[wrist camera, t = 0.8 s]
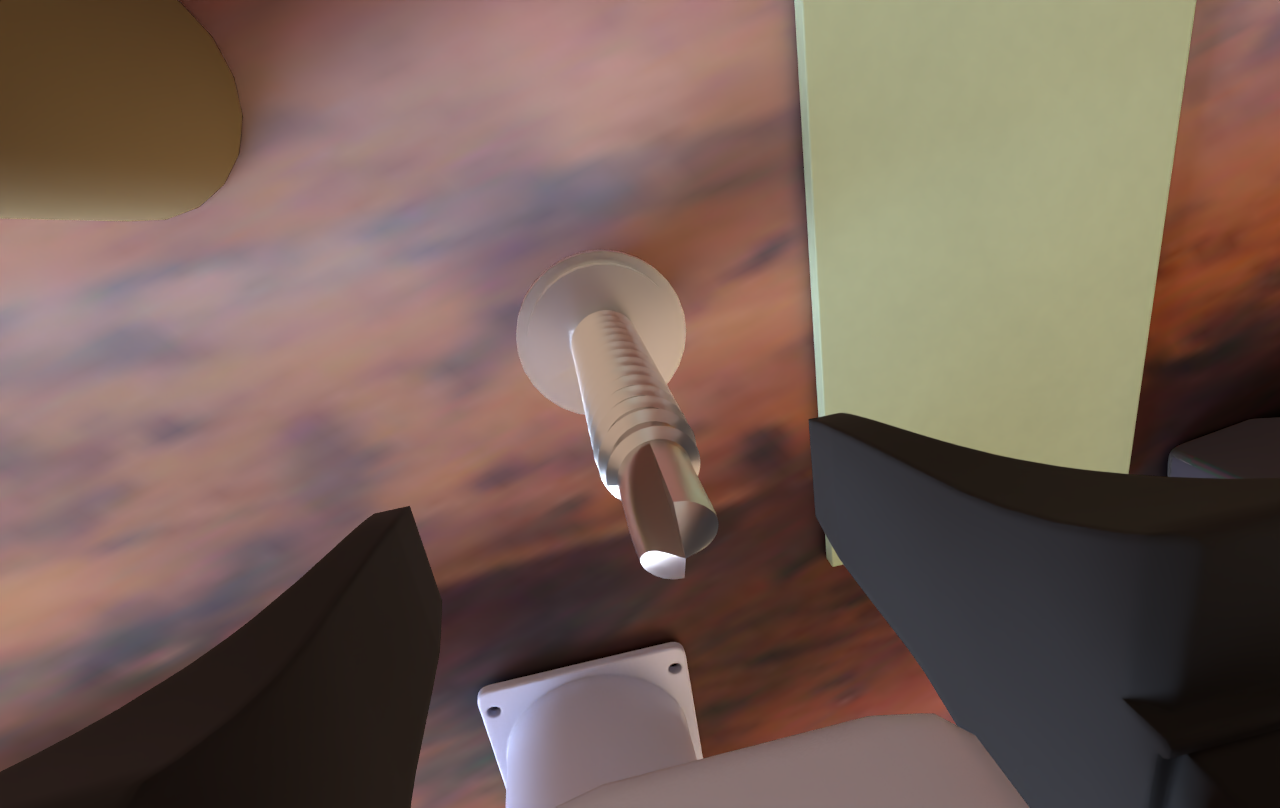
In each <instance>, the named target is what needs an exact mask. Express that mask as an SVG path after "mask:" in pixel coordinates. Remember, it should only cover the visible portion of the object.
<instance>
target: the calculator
mask: <svg viewBox="0 0 1280 808" xmlns="http://www.w3.org/2000/svg"><path fill="white" fill-rule="evenodd" d="M1167 477H1187V478H1218V479H1245V478H1280V417H1275V418H1257V419H1249V420H1246V421H1244V422H1241V423H1238V424H1235V425H1233V426H1230V427H1227V428H1224V429H1222V430H1219V431H1216V432H1213V433H1211V434H1208V435H1205V436H1202V437H1200V438H1197V439H1194V440H1191V441H1189V442H1186V443H1183V444H1181V445H1178V446H1176V447H1175V448H1174V449H1173V450H1172V451H1171V452H1170V454H1169V458H1168V472H1167Z"/></svg>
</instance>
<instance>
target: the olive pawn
mask: <svg viewBox="0 0 1280 808" xmlns="http://www.w3.org/2000/svg"><path fill="white" fill-rule="evenodd" d="M242 117H243V116H242V112H241V108H240V103H239V99H238V94H237V90H236V85H235V81H234V77H233V75H232V73H231V71H230V69H229V67H228V65H227V64H226V62H225V60H224V58H223V56H222V54H221V52H220V51H219V49H218V47H217V45H216V43H215V41H214V39H213V38H212V36H211V35H210V34H209V33H208V32H207V31H206V30H205V29H204V28H203V27H202V26H201V24H200V23H199V22H198V21H197V20H196V19H195V18H194V17H193V16H192V15H191V14H190V13H189V12H188V10H187V9H186V8H185V7H184V6H183V5H182V4H181V3H180V2H179V1H177V0H0V218H1V219H48V220H95V221H146V220H167V219H169V218H172V217H174V216H177V215H180V214H182V213H185V212H188V211H190V210H193V209H195V208H198V207H200V206H201V205H202V204H203V203H204V202H205V201H206V200H207V199H209V198H210V197H211V196H212V195H213V194H214V193H215V192H216V191H217V190H219V189H220V188H221V187H222V186H223V185H224V184H225V181H226V179H227V177H228V175H229V173H230V171H231V169H232V167H233V165H234V163H235V161H236V159H237V157H238V155H239V149H240V138H241V128H242Z"/></svg>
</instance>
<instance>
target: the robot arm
mask: <svg viewBox="0 0 1280 808" xmlns="http://www.w3.org/2000/svg"><path fill="white" fill-rule="evenodd" d="M809 431H810V445H811V458H812V472H813V486H814V500H815V514H816V517H817V519H818V521H819V523H820V525H821V527H822V529H823V531H824V532H825V534H826V536H827V538H828V540H829V542H830V543H831V545H832V547H833V549H834V550H835V552H836V554H837V556H838V557H839V559H840V560H841V562H842V563H843V564H844V566H845V567H846V568H847V570H848V571H849V572H850V574H851V575H852V576H853V578H854V579H855V580H856V582H857V583H858V584H859V586H860V587H861V588H862V590H863V591H864V592H865V593H866V595H867V596H868V597H869V599H870V600H871V601H872V603H873V604H874V605H875V606H876V608H877V609H878V610H879V612H880V613H881V614H882V616H883V617H884V618H885V619H886V621H887V622H888V623H889V625H890V626H891V627H892V629H893V630H894V631H895V632H896V634H897V635H898V636H899V638H900V639H901V640H902V642H903V643H904V644H905V645H906V647H907V648H908V649H909V651H910V652H911V654H912V655H913V656H914V658H915V659H916V661H917V662H918V664H919V665H920V666H921V668H922V669H923V671H924V672H925V674H926V675H927V677H928V679H929V680H930V682H931V684H932V685H933V687H934V689H935V690H936V692H937V693H938V695H939V697H940V698H941V700H942V702H943V703H944V705H945V707H946V708H947V710H948V712H949V713H950V715H951V716H952V718H953V720H954V721H955V723H956V725H957V726H956V725H954V724H953V723H951V722H949V721H947V720H945V719H943V718H941V717H939V716H937V715H936V714H923V713H921V714H900V715H880V716H867V717H863V718H859V719H855V720H851V721H848V722H844V723H840V724H836V725H832V726H828V727H824V728H820V729H816V730H813V731H809V732H805V733H801V734H797V735H793V736H789V737H785V738H781V739H777V740H774V741H770V742H766V743H762V744H758V745H754V746H750V747H746V748H742V749H738V750H735V751H731V752H727V753H723V754H719V755H715V756H711V757H707V758H703V755H702V749H701V743H700V737H699V731H698V725H697V719H696V713H695V708H694V702H693V696H692V690H691V684H690V678H689V672H688V666H687V660H686V654H685V651H684V648H683V646H682V645H681V644H680V643H677V642H668V643H664V644H660V645H656V646H651V647H647V648H643V649H639V650H635V651H630V652H626V653H622V654H618V655H613V656H609V657H605V658H601V659H596V660H592V661H588V662H584V663H580V664H575V665H571V666H567V667H563V668H558V669H554V670H550V671H546V672H541V673H537V674H533V675H529V676H525V677H520V678H516V679H512V680H508V681H503V682H499V683H495V684H491V685H487V686H485V687H483V688H482V689H481V690H480V691H479V693H478V706H479V709H480V712H481V715H482V718H483V721H484V724H485V727H486V730H487V733H488V736H489V739H490V742H491V745H492V748H493V751H494V754H495V757H496V760H497V763H498V766H499V769H500V772H501V775H502V778H503V781H504V784H505V787H506V808H1280V478H1245V479H1218V478H1187V477H1163V476H1147V475H1132V474H1122V473H1112V472H1102V471H1092V470H1083V469H1076V468H1068V467H1061V466H1054V465H1049V464H1043V463H1037V462H1031V461H1026V460H1020V459H1014V458H1010V457H1005V456H1000V455H996V454H991V453H987V452H983V451H979V450H975V449H971V448H967V447H963V446H959V445H956V444H952V443H948V442H945V441H941V440H938V439H934V438H931V437H927V436H924V435H921V434H917V433H914V432H911V431H908V430H904V429H901V428H898V427H895V426H891V425H888V424H885V423H882V422H878V421H875V420H872V419H868V418H865V417H861V416H857V415H853V414H848V413H836V414H831V415H827V416H822V417H818V418H813V419H809ZM441 618H442V600H441V597H440V594H439V591H438V588H437V585H436V582H435V579H434V576H433V573H432V570H431V567H430V564H429V561H428V558H427V555H426V553H425V550H424V547H423V544H422V541H421V538H420V535H419V532H418V529H417V526H416V523H415V520H414V517H413V514H412V511H411V508H410V506H408V507H403V508H398V509H394V510H389V511H385V512H380V513H375V514H373V515H372V516H370V517H369V518H368V519H366V520H365V521H364V522H362V523H361V524H360V525H359V526H358V527H357V528H355V529H354V530H353V531H352V532H351V533H350V534H349V535H348V536H347V537H345V538H344V539H343V540H342V541H341V542H340V543H339V544H338V545H337V546H336V547H335V548H333V549H332V550H331V551H330V552H329V553H328V554H327V555H326V556H325V557H324V558H322V559H321V560H320V561H319V562H318V563H317V564H316V565H315V566H314V567H313V568H312V569H310V570H309V571H308V572H307V573H306V574H305V575H304V576H303V577H302V578H300V579H299V580H298V581H297V582H296V583H295V584H293V585H292V586H291V587H290V588H289V589H287V590H286V591H285V592H284V593H283V594H282V595H280V596H279V597H278V598H277V599H276V600H274V601H273V602H272V603H271V604H270V605H268V606H267V607H266V608H265V609H264V610H263V611H261V612H260V613H259V614H258V615H257V616H255V617H254V618H253V619H252V620H250V621H249V622H248V623H247V624H245V625H244V626H243V627H241V628H240V629H239V630H237V631H236V632H235V633H233V634H232V635H231V636H229V637H228V638H227V639H225V640H224V641H223V642H221V643H220V644H218V645H217V646H216V647H214V648H213V649H211V650H210V651H209V652H207V653H206V654H204V655H203V656H201V657H200V658H199V659H197V660H196V661H194V662H193V663H191V664H190V665H188V666H187V667H185V668H184V669H182V670H181V671H179V672H178V673H176V674H174V675H173V676H171V677H170V678H168V679H166V680H165V681H163V682H161V683H160V684H158V685H157V686H155V687H153V688H152V689H150V690H149V691H147V692H145V693H144V694H142V695H141V696H139V697H137V698H136V699H134V700H132V701H131V702H129V703H128V704H126V705H124V706H123V707H121V708H120V709H118V710H116V711H114V712H113V713H111V714H109V715H107V716H106V717H104V718H102V719H100V720H98V721H97V722H95V723H93V724H91V725H89V726H88V727H86V728H84V729H82V730H80V731H79V732H77V733H75V734H73V735H71V736H69V737H68V738H66V739H64V740H62V741H60V742H58V743H56V744H54V745H52V746H50V747H48V748H47V749H45V750H43V751H41V752H39V753H37V754H35V755H33V756H31V757H29V758H27V759H25V760H23V761H21V762H19V763H17V764H15V765H13V766H11V767H9V768H7V769H5V770H3V771H1V772H0V808H411V800H412V793H413V787H414V780H415V774H416V769H417V764H418V759H419V754H420V749H421V744H422V739H423V734H424V729H425V724H426V719H427V714H428V710H429V705H430V700H431V695H432V690H433V685H434V679H435V674H436V669H437V664H438V658H439V653H440V638H441ZM673 663H678V664H677V665H676V666H670V665H671V664H673ZM495 706H496V707H499V708H497V709H491V707H495Z"/></svg>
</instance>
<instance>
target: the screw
mask: <svg viewBox="0 0 1280 808" xmlns="http://www.w3.org/2000/svg"><path fill="white" fill-rule="evenodd" d="M685 338H686V325H685V317H684V312H683V309H682V306H681V303H680V301H679V298H678V296H677V294H676V293H675V291H674V289H673V288H672V286H671V285H670V283H669V282H668V281H667V280H666V279H665V278H664V277H663V276H662V275H661V274H660V273H659V272H658V271H657V270H656V269H655V268H654V267H653V266H651V265H650V264H648V263H646V262H645V261H643V260H642V259H640V258H638V257H636V256H633V255H630V254H627V253H624V252H621V251H613V250H603V249H599V250H591V251H583V252H580V253H577V254H574V255H571V256H568V257H565V258H563V259H562V260H560V261H558V262H557V263H555V264H554V265H552V266H550V267H549V268H548V269H546V270H545V271H544V272H543V273H542V274H541V275H540V276H539V277H538V278H537V279H536V280H535V281H534V283H533V284H532V286H531V288H530V289H529V291H528V292H527V294H526V295H525V297H524V300H523V303H522V305H521V308H520V311H519V314H518V321H517V329H516V340H517V349H518V355H519V358H520V361H521V363H522V366H523V369H524V371H525V373H526V374H527V376H528V378H529V379H530V381H531V382H532V384H533V385H534V386H535V387H536V388H537V389H538V390H539V391H540V392H541V393H542V394H543V395H544V396H545V397H546V398H547V399H549V400H550V401H552V402H553V403H555V404H556V405H558V406H559V407H561V408H564V409H567V410H569V411H572V412H575V413H578V414H584V415H586V420H587V424H588V430H589V434H590V439H591V444H592V448H593V453H594V458H595V462H596V464H597V467H598V469H599V472H600V476H601V478H602V481H603V483H604V484H605V486H606V488H607V489H608V490H609V491H610V492H611V493H612V494H613V495H614V496H615V497H616V498H618V499H620V500H621V501H622V505H623V509H624V512H625V516H626V520H627V524H628V528H629V532H630V535H631V538H632V542H633V545H634V547H635V550H636V553H637V555H638V558H639V560H640V562H641V564H642V566H643V568H644V569H645V570H647V571H648V572H650V573H651V574H653V575H655V576H658V577H661V578H665V579H681V578H685V561H686V558H688V557H690V556H691V555H693V554H695V553H697V552H699V551H701V550H702V549H704V548H705V547H707V546H708V545H709V544H710V543H711V542H712V540H713V539H714V538H715V536H716V534H717V531H718V519H717V515H716V513H715V510H714V508H713V506H712V504H711V502H710V500H709V498H708V496H707V494H706V492H705V490H704V488H703V486H702V484H701V482H700V480H699V478H698V473H699V469H700V455H699V451H698V449H697V447H696V440H695V436H694V433H693V431H692V429H691V428H690V426H689V425H688V423H687V420H686V418H685V416H684V414H683V413H682V412H681V410H680V408H679V406H678V404H677V402H676V401H675V399H674V397H673V395H672V393H671V391H670V390H669V388H668V386H667V383H668V382H669V381H670V380H671V378H672V376H673V375H674V373H675V371H676V369H677V368H678V366H679V364H680V361H681V358H682V355H683V351H684V348H685Z"/></svg>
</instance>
